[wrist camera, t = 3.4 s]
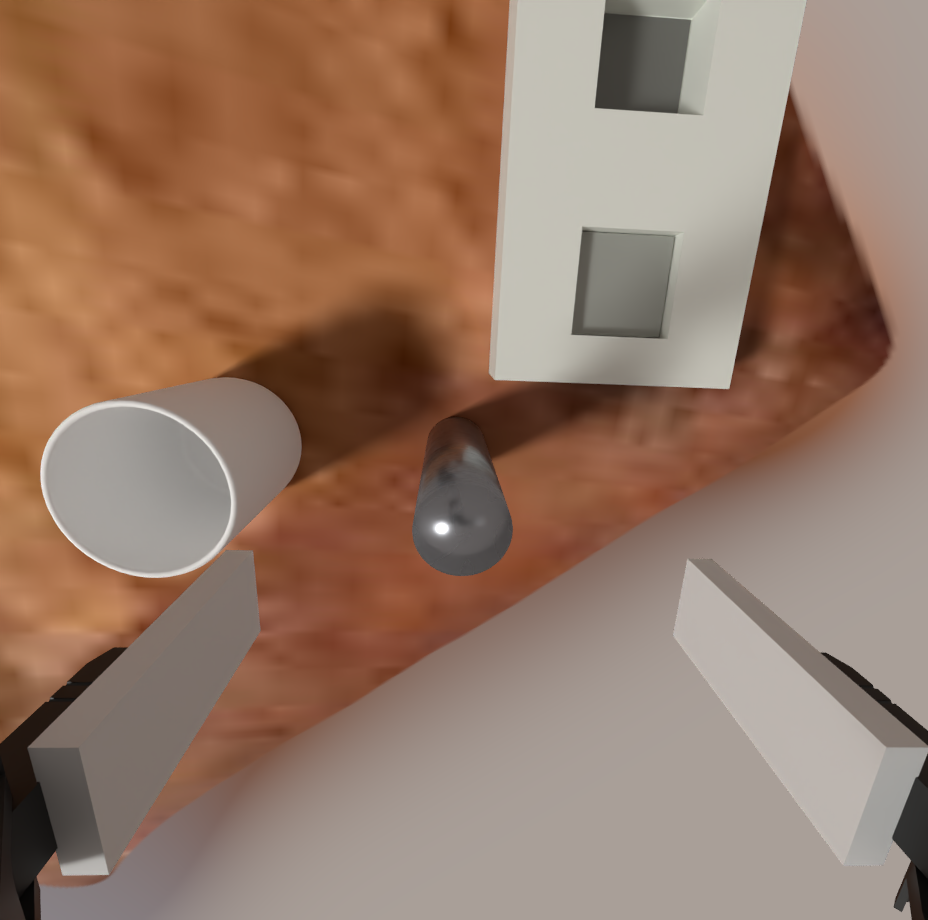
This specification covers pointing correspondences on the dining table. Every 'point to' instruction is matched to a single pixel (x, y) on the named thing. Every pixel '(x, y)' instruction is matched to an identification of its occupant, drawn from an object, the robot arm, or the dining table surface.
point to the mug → (168, 473)
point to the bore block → (635, 185)
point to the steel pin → (460, 502)
